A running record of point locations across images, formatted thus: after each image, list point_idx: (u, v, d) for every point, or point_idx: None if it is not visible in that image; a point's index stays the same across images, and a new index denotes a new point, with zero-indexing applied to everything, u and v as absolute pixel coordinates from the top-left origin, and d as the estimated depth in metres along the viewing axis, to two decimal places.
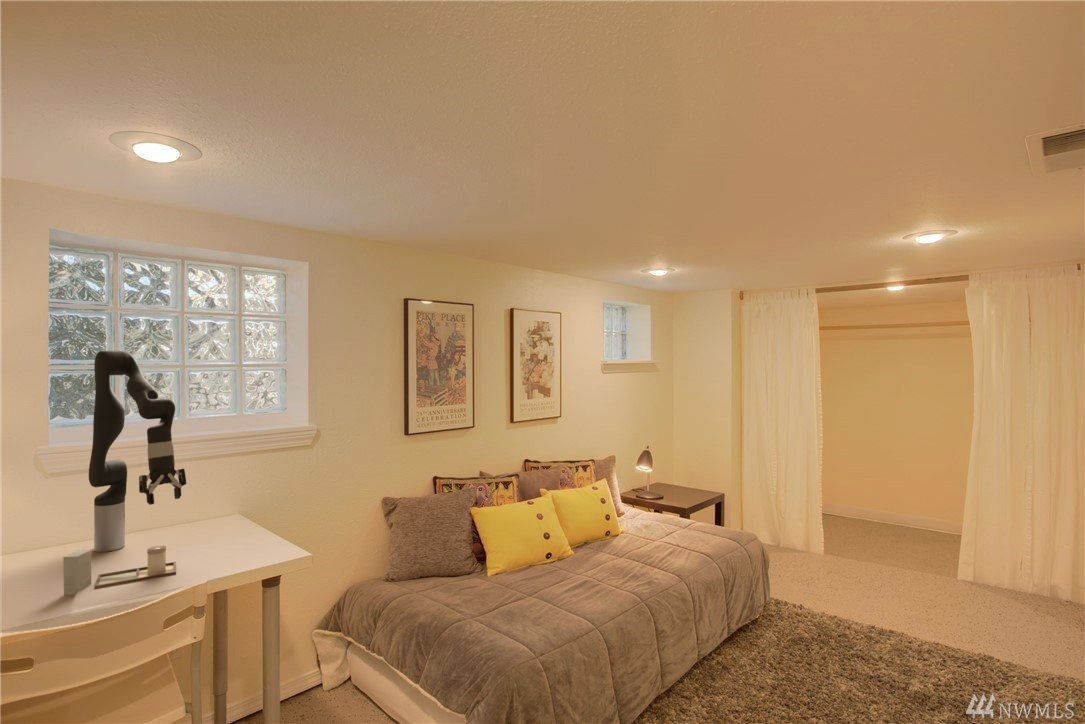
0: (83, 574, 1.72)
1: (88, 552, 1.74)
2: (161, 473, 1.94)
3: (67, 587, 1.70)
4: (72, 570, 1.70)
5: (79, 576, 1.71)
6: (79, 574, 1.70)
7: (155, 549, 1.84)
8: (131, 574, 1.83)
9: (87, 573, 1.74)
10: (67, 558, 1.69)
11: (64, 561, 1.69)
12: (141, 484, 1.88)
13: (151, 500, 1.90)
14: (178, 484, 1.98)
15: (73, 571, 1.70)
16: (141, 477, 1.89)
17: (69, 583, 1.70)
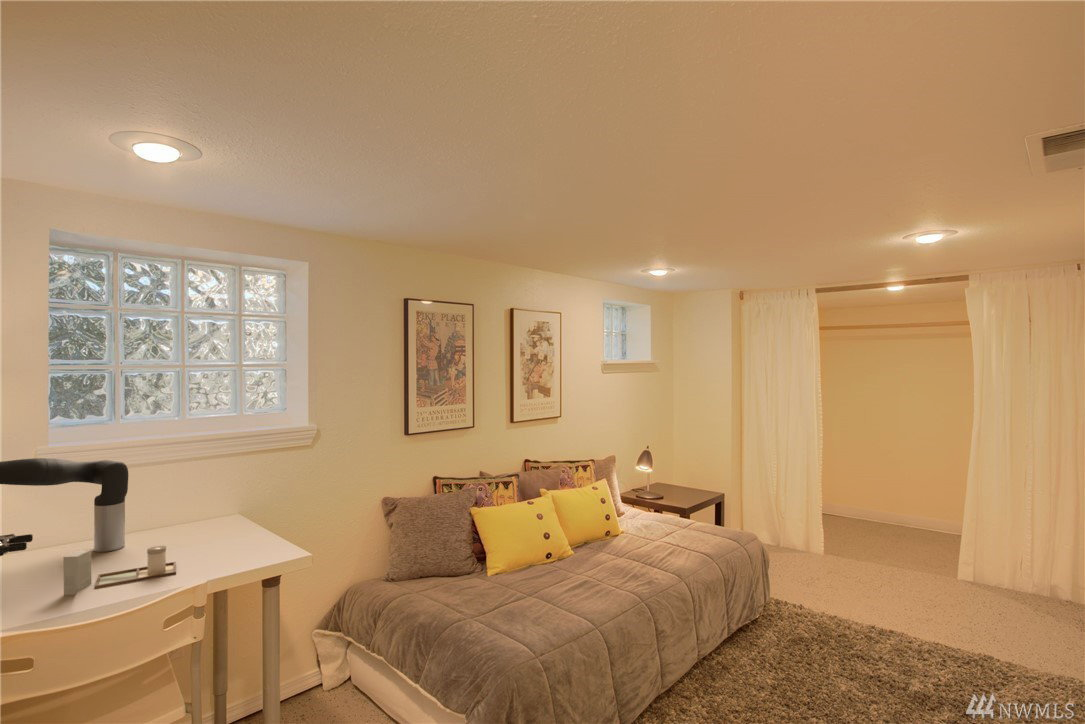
0: (83, 574, 1.72)
1: (88, 552, 1.74)
2: None
3: (67, 587, 1.70)
4: (72, 570, 1.70)
5: (79, 576, 1.71)
6: (79, 574, 1.70)
7: (155, 549, 1.84)
8: (131, 574, 1.83)
9: (87, 573, 1.74)
10: (67, 558, 1.69)
11: (64, 561, 1.69)
12: None
13: None
14: None
15: (73, 571, 1.70)
16: None
17: (69, 583, 1.70)
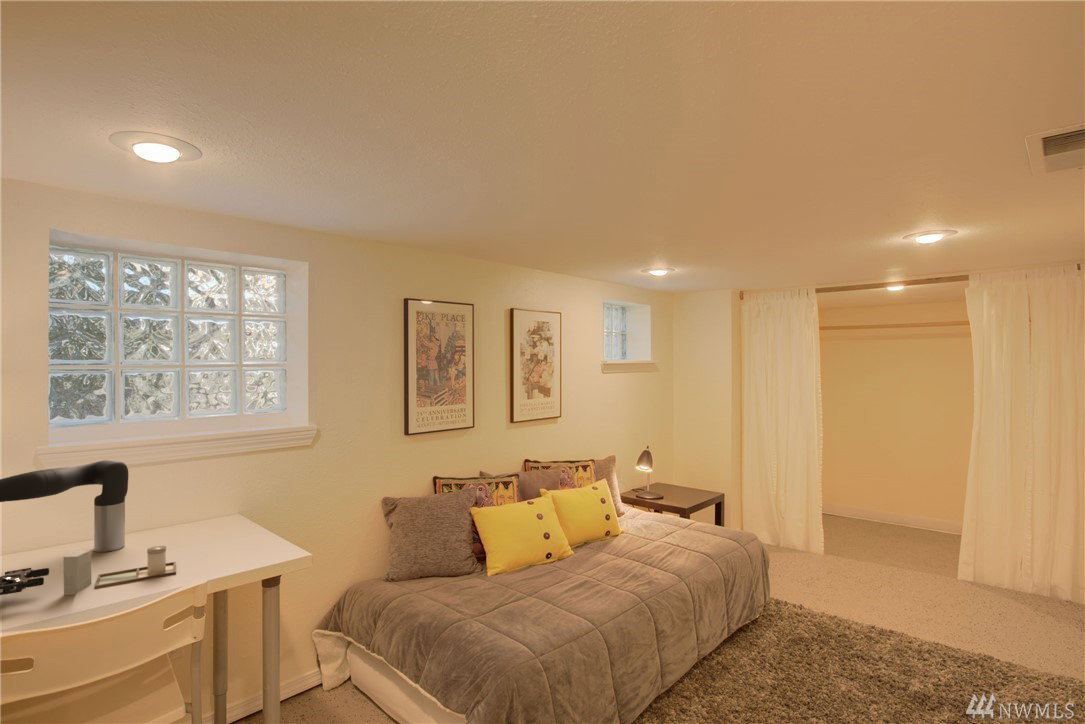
0: (83, 574, 1.72)
1: (88, 552, 1.74)
2: None
3: (67, 587, 1.70)
4: (72, 570, 1.70)
5: (79, 576, 1.71)
6: (79, 574, 1.70)
7: (155, 549, 1.84)
8: (131, 574, 1.83)
9: (87, 573, 1.74)
10: (67, 558, 1.69)
11: (64, 561, 1.69)
12: None
13: None
14: None
15: (73, 571, 1.70)
16: None
17: (69, 583, 1.70)
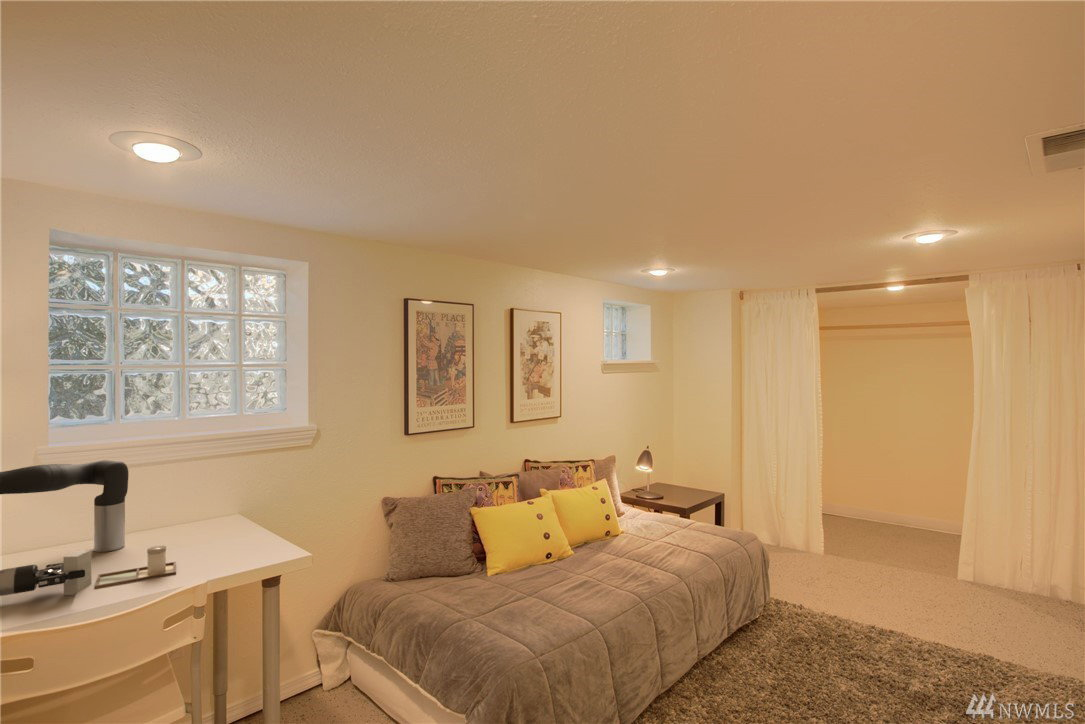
0: None
1: (88, 552, 1.74)
2: None
3: (67, 587, 1.70)
4: (72, 569, 1.70)
5: None
6: None
7: (155, 549, 1.84)
8: (131, 574, 1.83)
9: (87, 573, 1.74)
10: (67, 558, 1.69)
11: (64, 561, 1.69)
12: None
13: None
14: None
15: None
16: None
17: (69, 583, 1.70)
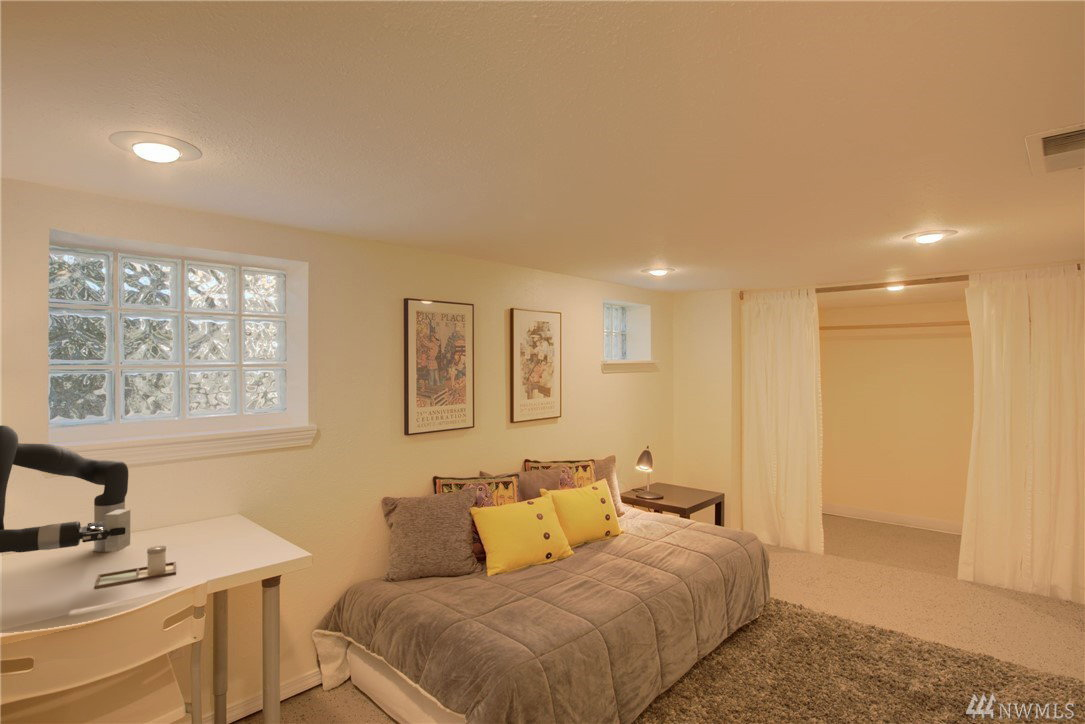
0: None
1: (128, 511, 1.81)
2: None
3: (108, 544, 1.77)
4: (113, 527, 1.77)
5: None
6: None
7: (155, 549, 1.84)
8: (131, 574, 1.83)
9: (126, 531, 1.81)
10: (109, 516, 1.76)
11: (106, 518, 1.76)
12: None
13: None
14: None
15: None
16: None
17: (110, 540, 1.77)
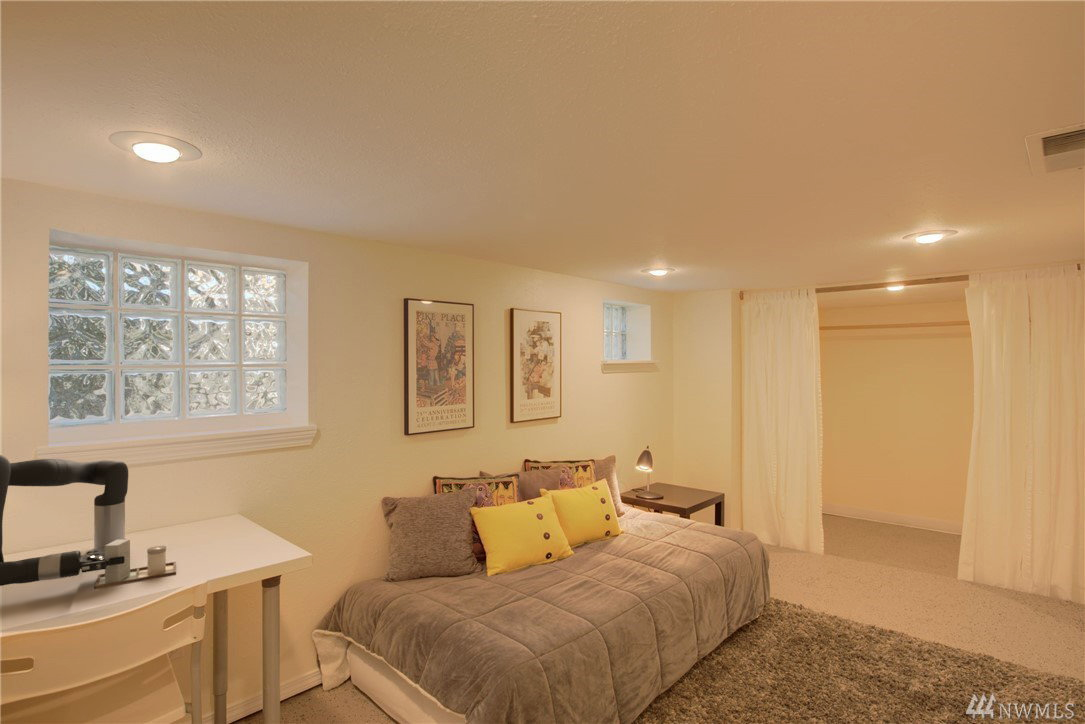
0: (123, 563, 1.79)
1: (127, 541, 1.81)
2: None
3: (108, 575, 1.77)
4: None
5: (120, 564, 1.78)
6: None
7: (155, 549, 1.84)
8: (131, 574, 1.83)
9: (126, 561, 1.81)
10: (108, 547, 1.76)
11: (105, 550, 1.76)
12: None
13: None
14: None
15: None
16: None
17: (110, 571, 1.77)
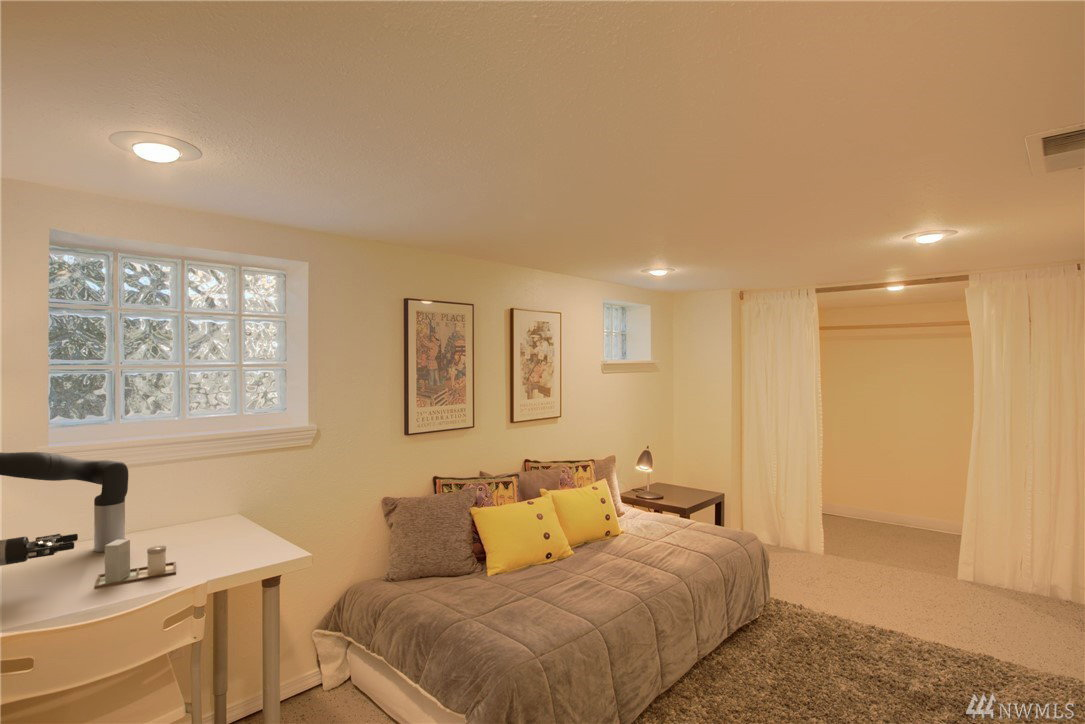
0: (123, 563, 1.79)
1: (127, 541, 1.81)
2: None
3: (108, 575, 1.77)
4: (113, 558, 1.77)
5: (120, 564, 1.78)
6: (119, 562, 1.78)
7: (155, 549, 1.84)
8: (131, 574, 1.83)
9: (126, 561, 1.81)
10: (108, 547, 1.76)
11: (105, 550, 1.76)
12: None
13: None
14: None
15: (114, 559, 1.77)
16: None
17: (110, 571, 1.77)
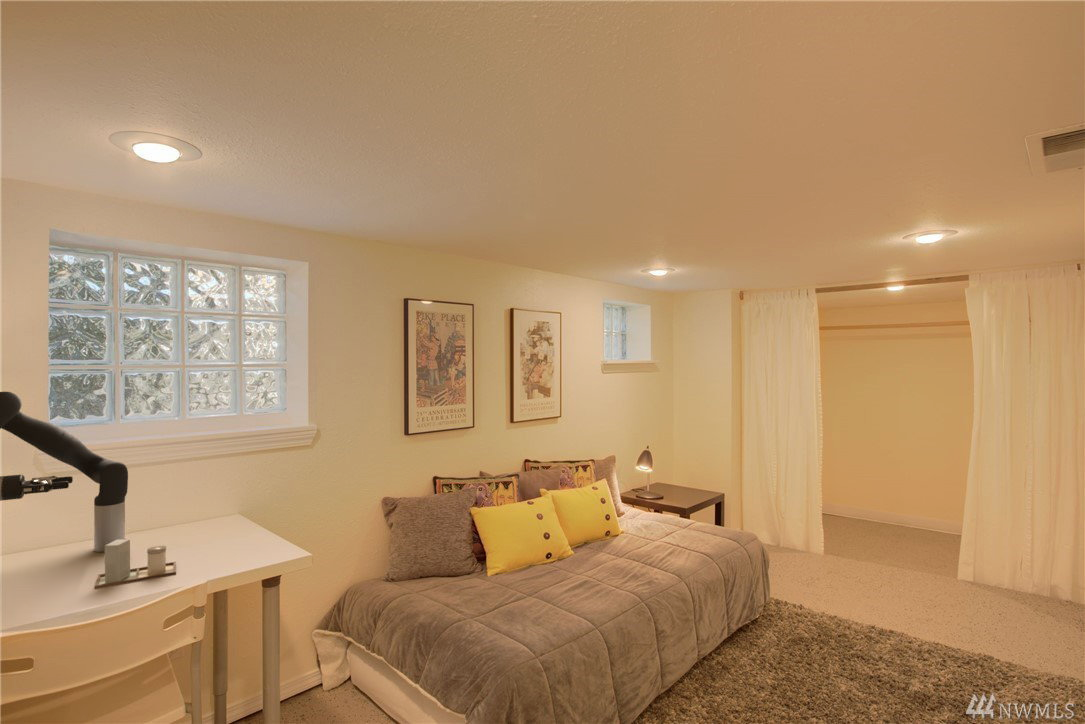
0: (123, 563, 1.79)
1: (127, 541, 1.81)
2: None
3: (108, 575, 1.77)
4: (113, 558, 1.77)
5: (120, 564, 1.78)
6: (119, 562, 1.78)
7: (155, 549, 1.84)
8: (131, 574, 1.83)
9: (126, 561, 1.81)
10: (108, 547, 1.76)
11: (105, 550, 1.76)
12: None
13: None
14: None
15: (114, 559, 1.77)
16: None
17: (110, 571, 1.77)
